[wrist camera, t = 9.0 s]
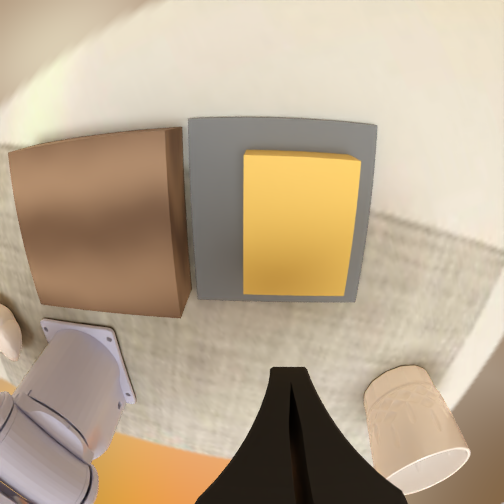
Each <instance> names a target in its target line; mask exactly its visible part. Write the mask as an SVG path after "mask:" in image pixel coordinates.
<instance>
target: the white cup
mask: <svg viewBox="0 0 504 504" xmlns="http://www.w3.org/2000/svg"><path fill="white" fill-rule="evenodd" d="M364 406H365V411H366V416H367V427H368V432H369V439H370V447H371V453H372V459H373V465H374V469H375V470H376V471H377V472H378V473H380V474H381V475H382V476H383V477H384V478H386V479H387V480H388V481H389V482H391V483H392V484H393V485H395V486H396V487H398V488H399V489H400V490H402V492H403V494H404V495H407V494H411V493H415V492H418V491H421V490H424V489H426V488H429V487H431V486H433V485H435V484H437V483H439V482H441V481H443V480H445V479H446V478H448V477H449V476H451V475H452V474H454V473H455V472H456V471H458V470H459V469H460V468H461V467H462V466H463V465H464V464H465V463H466V461H467V460H468V458H469V456H470V450H469V447H468V446H467V443H466V441H465V439H464V437H463V435H462V433H461V431H460V429H459V427H458V425H457V423H456V421H455V419H454V417H453V415H452V413H451V411H450V410H449V408H448V407H447V405H446V403H445V401H444V399H443V397H442V396H441V394H440V392H439V391H438V390H437V389H436V387H435V386H434V384H433V382H432V381H431V379H430V377H429V375H428V373H427V371H426V370H425V369H423V368H421V367H418V366H416V365H411V366H400V367H398V368H395V369H392V370H390V371H387V372H385V373H384V374H382V375H381V376H379V377H378V378H377V379H375V380H374V381H373V382H372V383H371V384H370V386H369V387H368V389H367V390H366V391H365V395H364Z"/></svg>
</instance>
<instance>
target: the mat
mask: <svg viewBox="0 0 504 504" xmlns="http://www.w3.org/2000/svg"><path fill="white" fill-rule="evenodd" d="M188 135H189V168H190V192H191V211H192V228H193V244H194V258H195V271H196V283H197V294H198V299H204V300H230V301H264V302H355V300H356V295H357V290H358V284H359V279H360V273H361V267H362V261H363V255H364V249H365V242H366V235H367V228H368V220H369V213H370V204H371V196H372V186H373V176H374V166H375V154H376V140H377V125H370V124H361V123H352V122H341V121H330V120H316V119H299V118H272V117H216V118H190V119H188ZM246 150H282V151H304V152H322V153H336V154H348V155H351V156H353V157H355V158H356V159H358V160H360V161H361V169H360V180H359V190H358V200H357V209H356V217H355V225H354V233H353V240H352V248H351V255H350V261H349V268H348V274H347V280H346V286H345V292H344V296H292V295H251V294H243V182H244V154H245V152H246Z"/></svg>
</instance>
